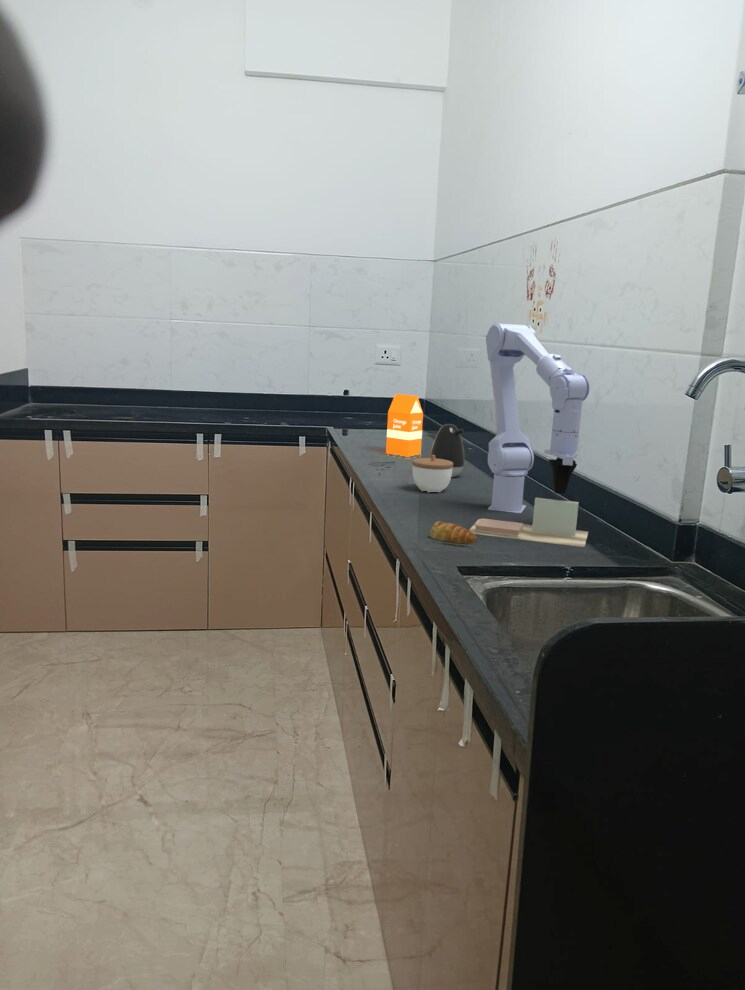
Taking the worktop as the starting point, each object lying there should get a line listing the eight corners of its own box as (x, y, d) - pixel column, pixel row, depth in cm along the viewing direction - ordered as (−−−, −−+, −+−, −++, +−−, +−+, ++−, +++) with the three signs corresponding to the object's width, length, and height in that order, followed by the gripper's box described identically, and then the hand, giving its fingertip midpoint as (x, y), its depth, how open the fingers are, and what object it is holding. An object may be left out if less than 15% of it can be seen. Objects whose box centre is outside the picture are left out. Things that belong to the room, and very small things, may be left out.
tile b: (532, 529, 180) (535, 497, 178) (575, 534, 177) (578, 502, 176) (532, 530, 178) (535, 498, 177) (574, 535, 176) (578, 503, 174)
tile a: (481, 518, 181) (475, 525, 174) (523, 523, 178) (518, 530, 172) (481, 524, 181) (475, 531, 175) (522, 529, 179) (518, 536, 172)
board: (478, 521, 187) (478, 518, 187) (588, 534, 180) (588, 531, 180) (466, 535, 174) (466, 532, 174) (584, 550, 167) (584, 547, 167)
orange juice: (398, 452, 280) (402, 393, 276) (420, 456, 275) (424, 395, 271) (385, 455, 273) (388, 394, 269) (407, 458, 268) (411, 396, 264)
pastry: (482, 543, 169) (483, 525, 168) (467, 550, 163) (468, 531, 162) (441, 535, 174) (442, 517, 173) (425, 541, 168) (426, 523, 167)
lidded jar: (448, 496, 213) (451, 460, 211) (407, 492, 215) (409, 456, 213) (453, 488, 223) (456, 454, 221) (414, 484, 225) (416, 450, 223)
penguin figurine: (447, 480, 234) (450, 426, 231) (421, 474, 241) (424, 422, 238) (471, 477, 240) (475, 425, 237) (445, 471, 248) (449, 420, 245)
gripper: (542, 425, 186) (537, 485, 188) (551, 434, 172) (545, 498, 174) (574, 427, 185) (568, 487, 188) (585, 436, 171) (579, 500, 174)
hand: (559, 492), depth 181 cm, fingers closed
